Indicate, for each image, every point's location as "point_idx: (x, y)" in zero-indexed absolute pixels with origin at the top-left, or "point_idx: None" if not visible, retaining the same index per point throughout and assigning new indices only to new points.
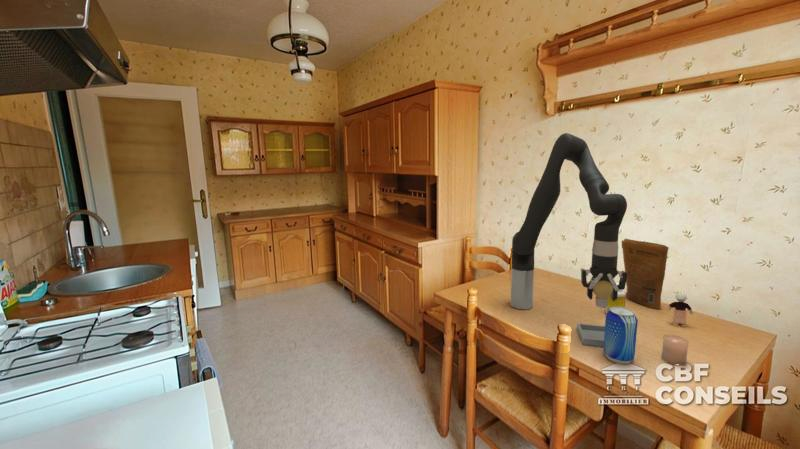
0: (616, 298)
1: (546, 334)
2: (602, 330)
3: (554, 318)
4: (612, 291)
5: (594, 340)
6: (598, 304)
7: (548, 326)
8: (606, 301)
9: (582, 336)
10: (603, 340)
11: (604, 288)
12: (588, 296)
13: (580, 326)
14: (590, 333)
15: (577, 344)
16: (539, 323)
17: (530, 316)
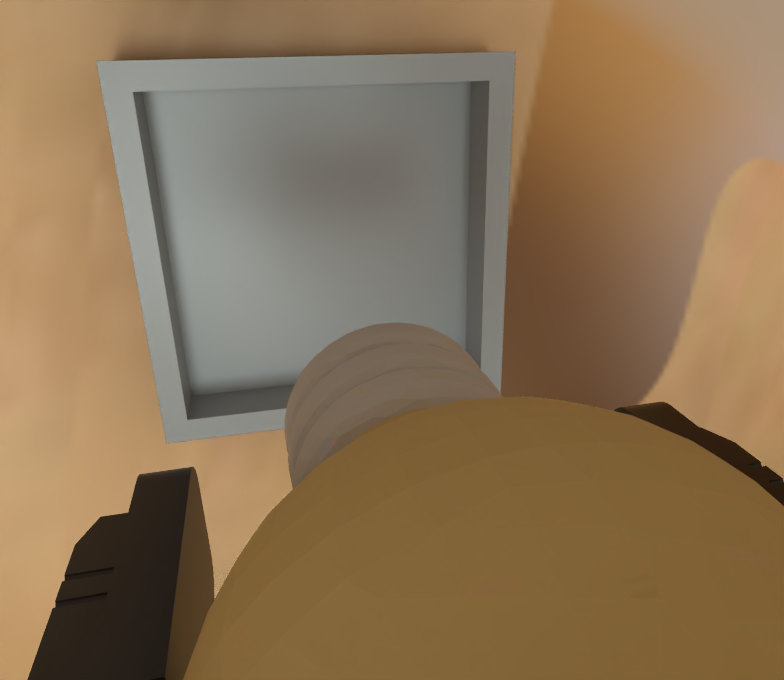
0: (97, 536)
1: (751, 183)
2: (268, 390)
3: None
4: (211, 613)
5: (403, 56)
6: (462, 356)
7: (694, 346)
8: (334, 406)
9: (512, 106)
10: (314, 60)
11: (625, 519)
12: (714, 436)
13: (483, 339)
14: (385, 301)
15: (536, 51)
16: (748, 376)
17: (780, 475)
